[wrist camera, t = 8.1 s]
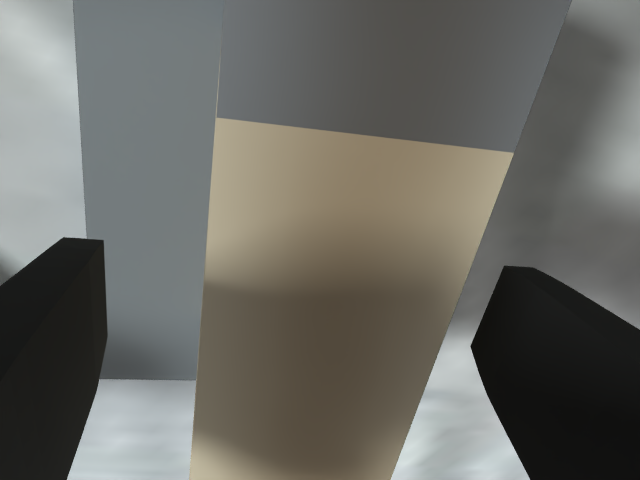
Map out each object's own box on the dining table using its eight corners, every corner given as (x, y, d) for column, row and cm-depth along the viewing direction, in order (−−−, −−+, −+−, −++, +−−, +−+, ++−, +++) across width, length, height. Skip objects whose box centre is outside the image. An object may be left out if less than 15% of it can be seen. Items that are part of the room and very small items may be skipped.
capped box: (200, 315, 15) (186, 512, 10) (230, -78, 10) (230, -73, 5) (333, 321, 16) (380, 504, 11) (419, -41, 11) (574, -6, 6)
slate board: (101, 355, 17) (95, 378, 16) (75, -196, 10) (60, -207, 9) (395, 362, 19) (403, 383, 18) (543, -88, 12) (567, -88, 11)
